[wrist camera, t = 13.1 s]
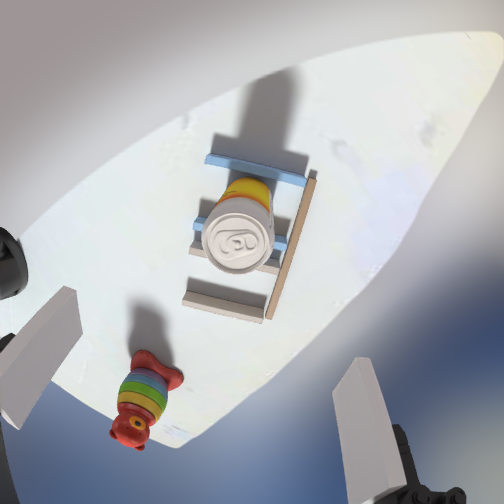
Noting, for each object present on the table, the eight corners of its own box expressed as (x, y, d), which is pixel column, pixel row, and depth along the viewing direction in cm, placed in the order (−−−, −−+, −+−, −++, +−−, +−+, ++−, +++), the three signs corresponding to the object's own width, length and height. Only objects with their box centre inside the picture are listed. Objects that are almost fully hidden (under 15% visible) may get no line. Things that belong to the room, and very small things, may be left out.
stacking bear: (188, 377, 51) (166, 453, 35) (163, 394, 54) (141, 461, 38) (142, 346, 48) (106, 421, 32) (122, 367, 52) (90, 432, 35)
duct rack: (185, 295, 43) (181, 305, 40) (210, 153, 34) (206, 155, 31) (271, 315, 43) (271, 325, 41) (315, 179, 34) (318, 182, 32)
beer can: (220, 180, 35) (189, 215, 22) (267, 172, 34) (267, 201, 21) (230, 225, 38) (208, 283, 24) (276, 217, 37) (280, 273, 23)
